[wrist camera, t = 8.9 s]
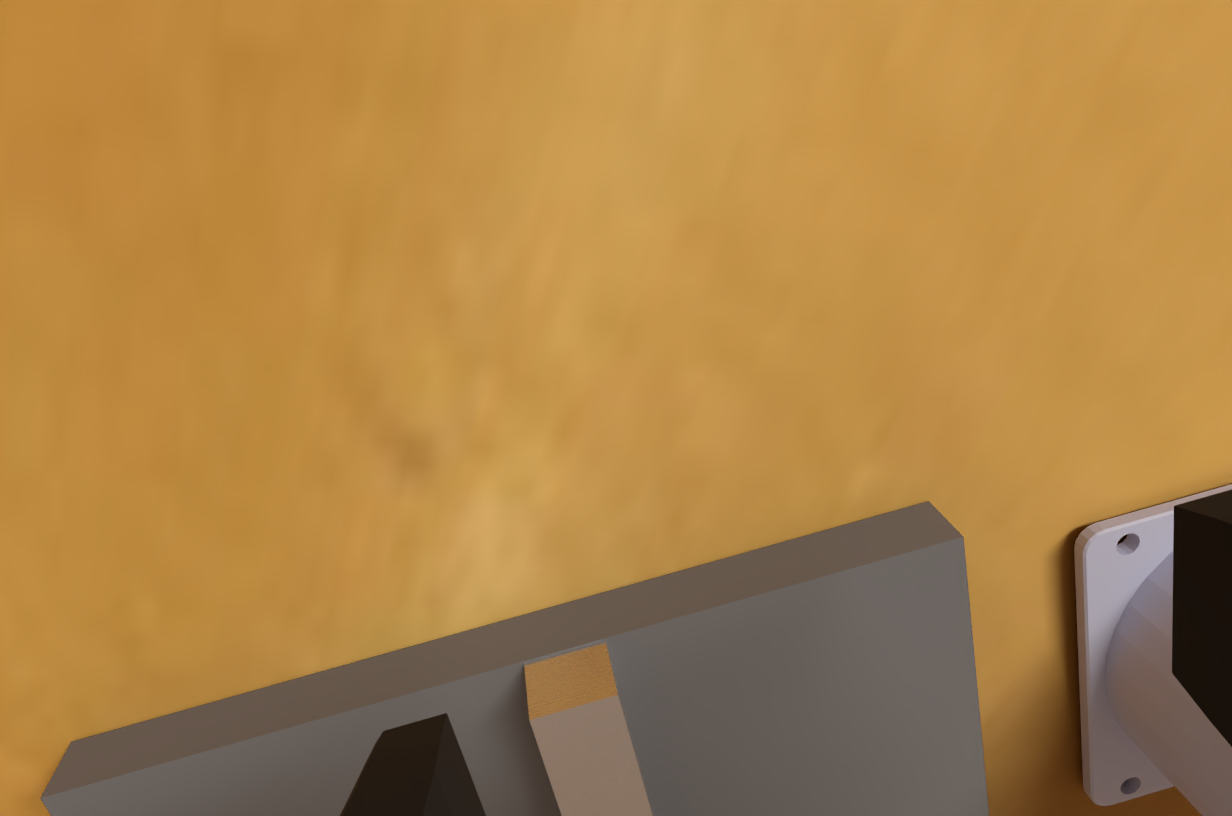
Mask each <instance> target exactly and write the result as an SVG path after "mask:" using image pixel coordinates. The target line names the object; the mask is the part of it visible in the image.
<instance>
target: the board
mask: <svg viewBox="0 0 1232 816" xmlns="http://www.w3.org/2000/svg"><path fill="white" fill-rule="evenodd" d="M605 640H606V644H607V647H608V651H609V654H610V658H611V661H612V665H613V668H614V672H615V675H616V679H617V682H618V686H619V690H620V693H621V697H622V700H623V704H624V707H625V711H626V714H627V718H628V721H629V725H630V728H631V732H632V735H633V739H634V742H635V746H636V749H637V753H638V756H639V760H640V763H641V767H642V770H643V774H644V777H645V781H646V784H647V788H648V791H649V795H650V798H651V802H652V806H653V809H654V813H655V816H989V808H988V798H987V787H986V776H985V765H984V754H983V744H982V733H981V722H980V711H979V700H978V689H977V679H976V668H975V657H974V646H973V635H972V625H971V614H970V603H969V592H968V581H967V570H966V560H965V549H964V538H963V536H962V535H961V534H960V533H959V532H958V531H957V530H956V529H955V528H954V527H953V526H952V525H951V524H950V523H949V522H948V520H947V519H946V518H945V517H944V516H943V515H942V514H941V513H940V512H939V511H938V510H937V509H936V508H935V507H934V506H933V505H932V504H931V503H930V502H929V501H928V502H924V503H920V504H917V505H913V506H910V507H906V508H903V509H899V510H895V511H892V512H888V513H885V514H881V515H878V516H874V517H871V518H867V519H863V520H860V521H856V522H853V523H849V524H846V525H842V526H839V527H835V528H831V529H828V530H824V531H821V532H817V533H814V534H810V535H806V536H803V537H799V538H796V539H792V540H789V541H785V542H782V543H778V544H774V545H771V546H767V547H764V548H760V549H757V550H753V551H749V552H746V553H742V554H739V555H735V556H732V557H728V558H725V559H721V560H717V561H714V562H710V563H707V564H703V565H700V566H696V567H692V568H689V569H685V570H682V571H678V572H675V573H671V574H668V575H664V576H660V577H657V578H653V579H650V580H646V581H643V582H639V583H635V584H632V585H628V586H625V587H621V588H618V589H614V590H611V591H607V592H603V593H600V594H596V595H593V596H589V597H586V598H582V599H579V600H575V601H571V602H568V603H564V604H561V605H557V606H554V607H550V608H546V609H543V610H539V611H536V612H532V613H529V614H525V615H522V616H518V617H514V618H511V619H507V620H504V621H500V622H497V623H493V624H489V625H486V626H482V627H479V628H475V629H472V630H468V631H465V632H461V633H457V634H454V635H450V636H447V637H443V638H440V639H436V640H432V641H429V642H425V643H422V644H418V645H415V646H411V647H408V648H404V649H400V650H397V651H393V652H390V653H386V654H383V655H379V656H375V657H372V658H368V659H365V660H361V661H358V662H354V663H351V664H347V665H343V666H340V667H336V668H333V669H329V670H326V671H322V672H319V673H315V674H311V675H308V676H304V677H301V678H297V679H294V680H290V681H286V682H283V683H279V684H276V685H272V686H269V687H265V688H262V689H258V690H254V691H251V692H247V693H244V694H240V695H237V696H233V697H229V698H226V699H222V700H219V701H215V702H212V703H208V704H205V705H201V706H197V707H194V708H190V709H187V710H183V711H180V712H176V713H172V714H169V715H165V716H162V717H158V718H155V719H151V720H148V721H144V722H140V723H137V724H133V725H130V726H126V727H123V728H119V729H116V730H112V731H108V732H105V733H101V734H98V735H94V736H91V737H87V738H83V739H80V740H76V741H73V742H71V743H70V745H69V747H68V749H67V751H66V752H65V754H64V756H63V758H62V760H61V761H60V763H59V765H58V767H57V769H56V771H55V772H54V774H53V776H52V778H51V780H50V782H49V783H48V785H47V787H46V789H45V791H44V792H43V794H42V796H41V800H42V802H43V803H44V805H45V806H46V808H47V810H48V811H49V813H50V814H51V816H340V814H341V812H342V810H343V808H344V806H345V804H346V802H347V800H348V798H349V796H350V794H351V792H352V790H353V788H354V786H355V784H356V782H357V780H358V777H359V775H360V773H361V771H362V769H363V767H364V765H365V763H366V761H367V759H368V757H369V755H370V753H371V751H372V749H373V747H374V745H375V743H376V742H377V740H378V738H379V737H380V735H381V734H382V732H383V731H385V730H389V729H392V728H396V727H399V726H403V725H406V724H410V723H413V722H417V721H420V720H424V719H427V718H431V717H434V716H438V715H441V714H445V713H447V715H448V717H449V720H450V722H451V725H452V728H453V730H454V733H455V736H456V738H457V741H458V743H459V746H460V749H461V751H462V754H463V756H464V759H465V762H466V764H467V767H468V770H469V772H470V775H471V777H472V780H473V783H474V785H475V788H476V791H477V793H478V796H479V798H480V801H481V804H482V806H483V809H484V811H485V814H486V816H562V815H561V812H560V809H559V806H558V803H557V800H556V797H555V794H554V791H553V789H552V786H551V783H550V780H549V777H548V774H547V771H546V768H545V765H544V762H543V759H542V756H541V753H540V750H539V747H538V744H537V741H536V738H535V735H534V732H533V729H532V726H531V723H530V721H529V711H528V700H527V689H526V679H525V668H524V663H528V662H531V661H535V660H538V659H542V658H545V657H549V656H552V655H556V654H559V653H563V652H566V651H570V650H573V649H577V648H580V647H584V646H588V645H591V644H595V643H598V642H602V641H605Z"/></svg>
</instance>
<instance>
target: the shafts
mask: <svg viewBox="0 0 1232 816" xmlns="http://www.w3.org/2000/svg"><path fill="white" fill-rule="evenodd" d="M524 668H525V679H526V689H527V700H528V711H529V721H530V723H531V726H532V729H533V732H534V735H535V738H536V741H537V744H538V747H539V750H540V753H541V756H542V759H543V762H544V765H545V768H546V771H547V774H548V777H549V780H550V783H551V786H552V789H553V791H554V794H555V797H556V800H557V803H558V806H559V809H560V812H561V815H562V816H655V813H654V809H653V806H652V802H651V798H650V795H649V791H648V788H647V784H646V781H645V777H644V774H643V770H642V767H641V763H640V760H639V756H638V753H637V749H636V746H635V742H634V739H633V735H632V732H631V728H630V725H629V721H628V718H627V714H626V711H625V707H624V704H623V700H622V697H621V693H620V690H619V686H618V682H617V679H616V675H615V672H614V668H613V665H612V661H611V658H610V654H609V651H608V647H607V644H606V640H605V641H602V642H598V643H595V644H591V645H588V646H584V647H580V648H577V649H573V650H570V651H566V652H563V653H559V654H556V655H552V656H549V657H545V658H542V659H538V660H535V661H531V662H528V663H524Z"/></svg>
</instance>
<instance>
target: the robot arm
mask: <svg viewBox="0 0 1232 816" xmlns="http://www.w3.org/2000/svg"><path fill="white" fill-rule="evenodd" d="M1126 534H1127V537H1126V539H1125V540H1124V541H1123V542H1122V543H1120V544H1118V545H1117V543H1118V541H1119V540H1120V539H1121V537H1123V536H1124V535H1126ZM1074 555H1075V581H1076V608H1077V635H1078V661H1079V688H1080V714H1081V741H1082V767H1083V788H1084V791H1085V793H1086V794H1087V795H1088V797H1089V798H1090V799H1091V800H1092V801H1093V802H1094V803H1095V804H1096V805H1099V806H1110V805H1114V804H1117V803H1121V802H1124V801H1127V800H1131V799H1134V798H1137V797H1141V796H1144V795H1147V794H1151V793H1154V792H1157V791H1161V790H1164V789H1167V788H1171V787H1174V786H1175V787H1176V788H1177V790H1178V791H1179V792H1180V793H1181V794H1182V795H1183V796H1184V797H1185V798H1186V799H1187V800H1188V801H1189V802H1190V803H1191V805H1192V806H1193V807H1194V808H1195V809H1196V810H1197V811H1198V812H1199V813H1200V814H1201V815H1202V816H1232V484H1230V485H1227V486H1223V487H1220V488H1216V489H1213V490H1209V491H1206V492H1202V493H1199V494H1195V495H1192V496H1188V497H1185V498H1181V499H1177V500H1174V501H1170V502H1167V503H1163V504H1160V505H1156V506H1153V507H1149V508H1146V509H1142V510H1139V511H1135V512H1132V513H1128V514H1125V515H1121V516H1118V517H1114V518H1111V519H1107V520H1104V521H1100V522H1097V523H1094V524H1092V525H1090V526H1088V527H1086V528H1085V529H1084V530H1083V531H1082V532H1081V533H1080V534H1079V536H1078V538H1077V539H1076V542H1075V547H1074ZM340 816H486V814H485V811H484V809H483V806H482V804H481V801H480V798H479V796H478V793H477V791H476V788H475V785H474V783H473V780H472V777H471V775H470V772H469V770H468V767H467V764H466V762H465V759H464V756H463V754H462V751H461V749H460V746H459V743H458V741H457V738H456V736H455V733H454V730H453V728H452V725H451V722H450V720H449V717H448V715H447V713H445V714H441V715H438V716H434V717H431V718H427V719H424V720H420V721H417V722H413V723H410V724H406V725H403V726H399V727H396V728H392V729H389V730H385V731H383V732H382V734H381V735H380V737H379V738H378V740H377V742H376V743H375V745H374V747H373V749H372V751H371V753H370V755H369V757H368V759H367V761H366V763H365V765H364V767H363V769H362V771H361V773H360V775H359V777H358V780H357V782H356V784H355V786H354V788H353V790H352V792H351V794H350V796H349V798H348V800H347V802H346V804H345V806H344V808H343V810H342V812H341V814H340Z"/></svg>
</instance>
